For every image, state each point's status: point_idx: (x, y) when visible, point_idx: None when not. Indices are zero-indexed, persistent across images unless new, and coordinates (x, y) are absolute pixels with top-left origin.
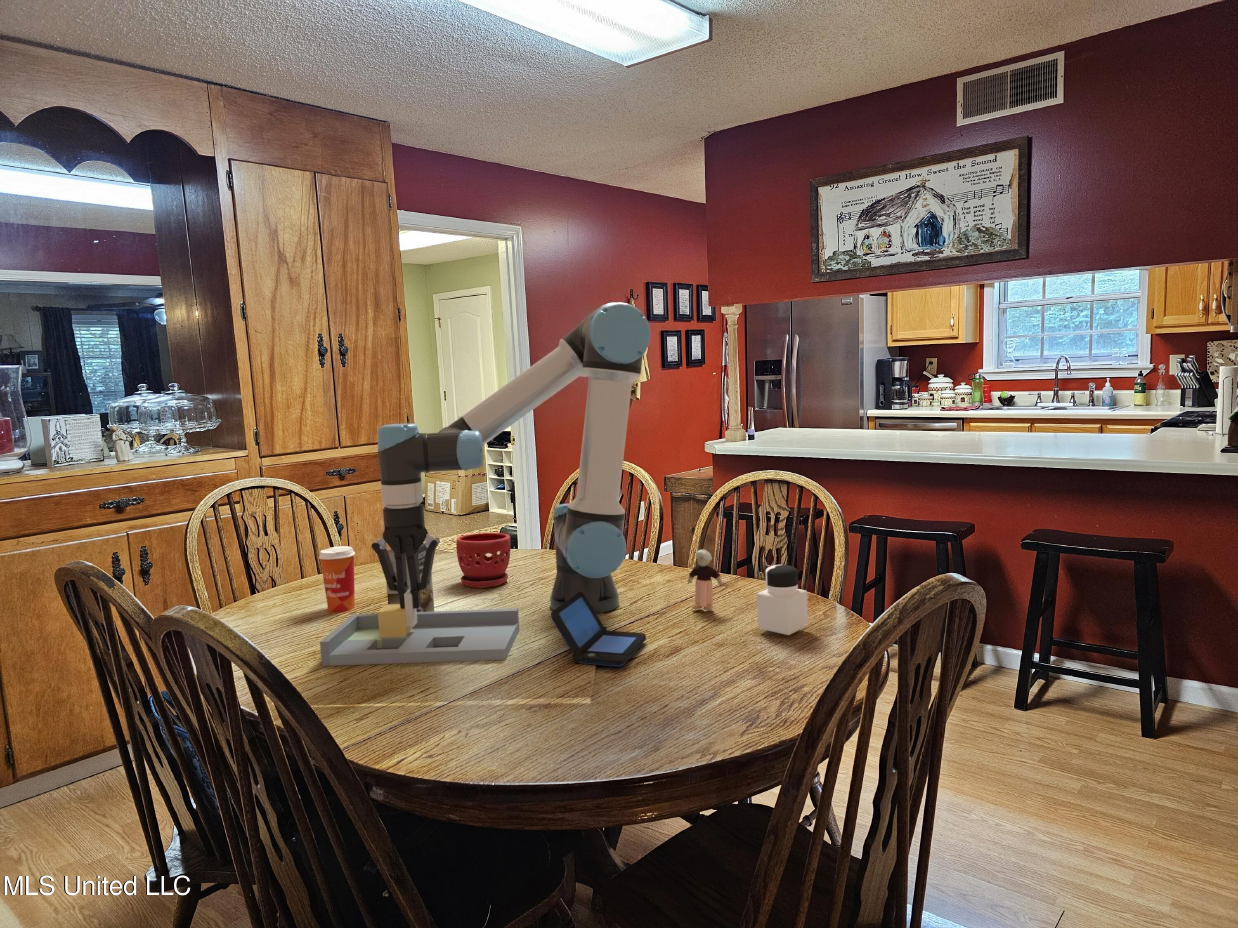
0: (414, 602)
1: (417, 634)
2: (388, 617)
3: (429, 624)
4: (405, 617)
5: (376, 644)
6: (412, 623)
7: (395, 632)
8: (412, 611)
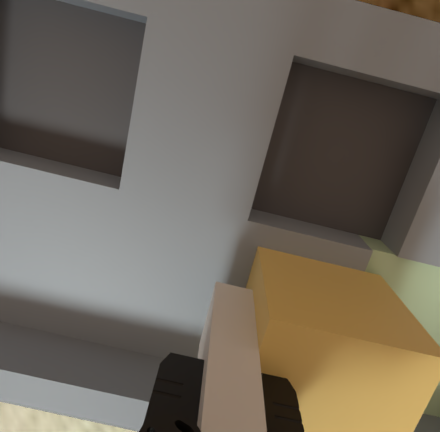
0: (188, 388)
1: (202, 257)
2: (365, 319)
3: (152, 359)
4: (257, 314)
5: (389, 242)
6: (219, 290)
7: (309, 266)
8: (210, 332)
